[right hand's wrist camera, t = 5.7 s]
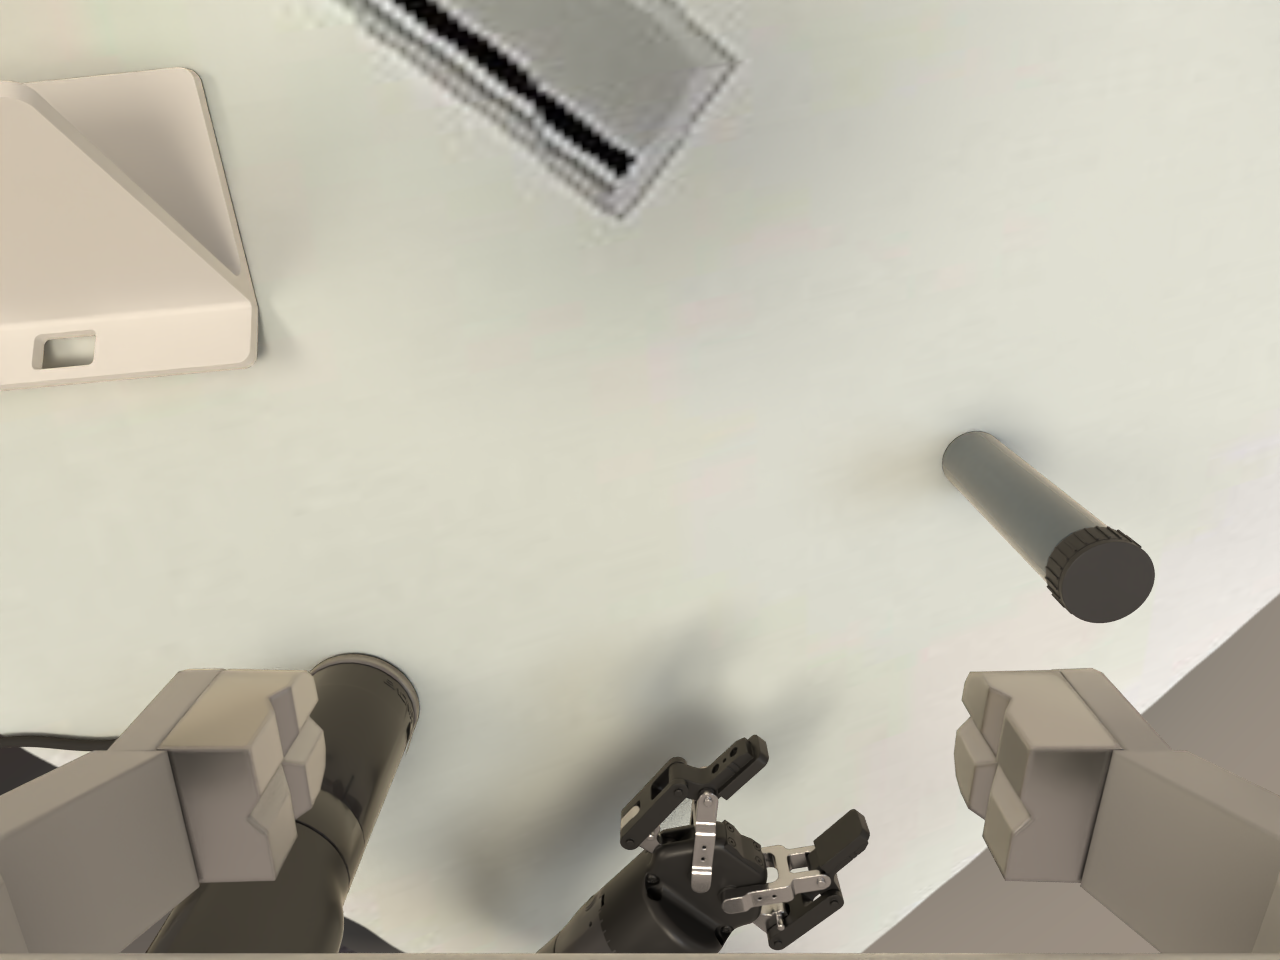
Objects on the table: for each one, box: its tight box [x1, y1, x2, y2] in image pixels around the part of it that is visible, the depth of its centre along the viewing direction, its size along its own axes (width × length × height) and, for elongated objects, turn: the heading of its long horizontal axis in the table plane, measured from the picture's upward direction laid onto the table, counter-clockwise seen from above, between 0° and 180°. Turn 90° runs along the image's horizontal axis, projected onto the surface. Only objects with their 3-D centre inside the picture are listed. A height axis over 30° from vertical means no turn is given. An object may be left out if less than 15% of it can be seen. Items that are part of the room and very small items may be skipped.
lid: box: [1045, 526, 1155, 623], centre depth 44 cm, size 5×5×2 cm
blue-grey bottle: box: [942, 431, 1107, 583], centre depth 52 cm, size 4×4×18 cm
